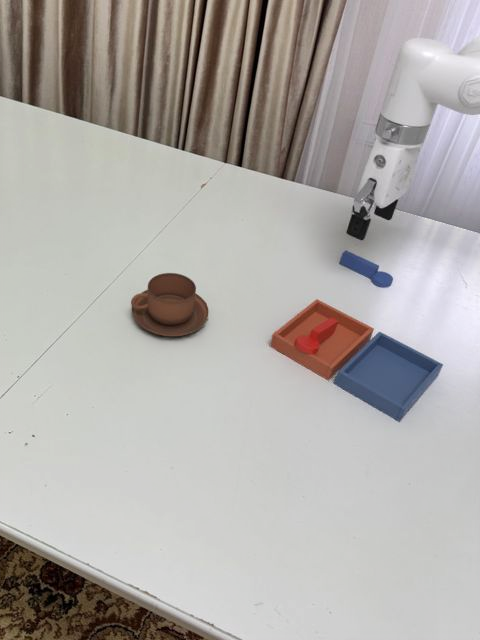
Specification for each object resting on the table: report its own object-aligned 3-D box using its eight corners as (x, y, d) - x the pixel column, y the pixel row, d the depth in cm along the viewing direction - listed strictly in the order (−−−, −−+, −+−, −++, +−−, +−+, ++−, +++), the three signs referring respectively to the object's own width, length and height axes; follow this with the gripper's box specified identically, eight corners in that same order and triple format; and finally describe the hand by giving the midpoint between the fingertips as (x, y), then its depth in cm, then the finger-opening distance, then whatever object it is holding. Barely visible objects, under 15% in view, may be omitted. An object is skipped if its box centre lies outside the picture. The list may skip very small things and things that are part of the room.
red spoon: (310, 356, 89) (316, 343, 88) (289, 345, 91) (295, 331, 90) (340, 337, 97) (345, 324, 95) (320, 326, 98) (325, 313, 97)
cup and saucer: (156, 352, 92) (158, 320, 88) (118, 308, 99) (118, 276, 95) (222, 328, 97) (226, 297, 93) (181, 287, 104) (183, 257, 100)
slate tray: (437, 376, 92) (443, 364, 90) (399, 422, 85) (405, 409, 83) (374, 343, 97) (379, 331, 95) (333, 383, 90) (337, 371, 88)
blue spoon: (395, 281, 110) (399, 270, 108) (385, 290, 108) (389, 278, 106) (345, 258, 115) (349, 247, 113) (335, 266, 113) (339, 255, 111)
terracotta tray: (369, 340, 97) (374, 328, 96) (328, 380, 90) (332, 368, 88) (313, 310, 102) (316, 298, 100) (269, 346, 95) (272, 334, 93)
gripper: (398, 153, 88) (364, 254, 99) (447, 123, 98) (411, 218, 110) (352, 135, 91) (324, 235, 103) (404, 108, 101) (373, 202, 113)
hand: (369, 226), depth 106 cm, fingers open, 9 cm apart
